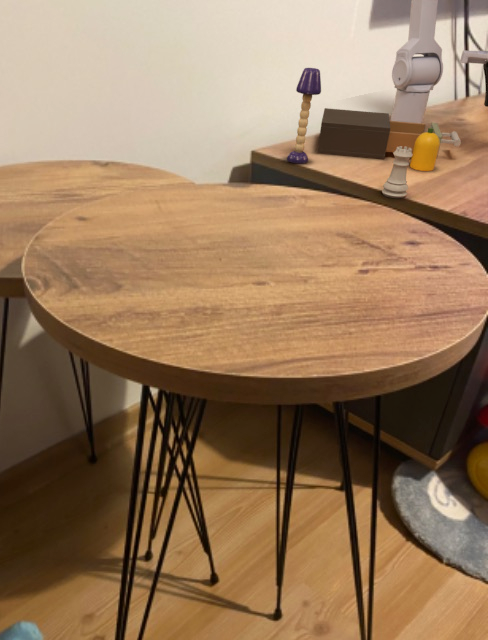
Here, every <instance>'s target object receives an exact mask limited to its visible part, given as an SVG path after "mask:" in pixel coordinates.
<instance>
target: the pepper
mask: <svg viewBox="0 0 488 640" xmlns="http://www.w3.org/2000/svg"><path fill="white" fill-rule="evenodd" d="M433 130H434V129H433V128H430V127H428V128H427V131H424V132H423V133H422V134H421V135H419V136H418V138H417V139H416V141H415V145H414V149H413V154H412V155H413V156H412V157H411V158H410V163H409V167H410V168H411V169H413V170H415V171H421V172H431V171H433V170H434V169H435V165H436V161H437V159H436V157H437V158H438V156H437V153H438V154H439V152H438V150H439V151H440V148H439V145H440V146H441V144H440V140H439V138H438V136H437V135H436V134H435V133H433Z"/></svg>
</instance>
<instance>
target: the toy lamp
mask: <svg viewBox="0 0 488 640" xmlns="http://www.w3.org/2000/svg"><path fill="white" fill-rule="evenodd" d="M321 81H322V80H321V70H320V69H318V68H316V67H305V68H303V70H302V73H301V75H300V78H299V80H298V83H297V86H296V89H295V91H296V92H297V93H298V94H302V97H301V99H302V101H301V105H300V108H301V109H300V112H299V119H298V127H297V130H296V134H297V135H296V138H295V144H294V150H292V151H290V152H289V154H287V157H286V161H287V162H289V163H292V164H298V165H299V164H300V165H301V164H304V165H305V164H307V163H308V162H309V156H308V154H307V153H306V152H305V151H304V149H305V142H306V135H307V131H308V128H307V127H308V124H309V117H310V109H311V106H312V103H311V102H312V99H313V96H317V95H321V93H322V82H321Z"/></svg>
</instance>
